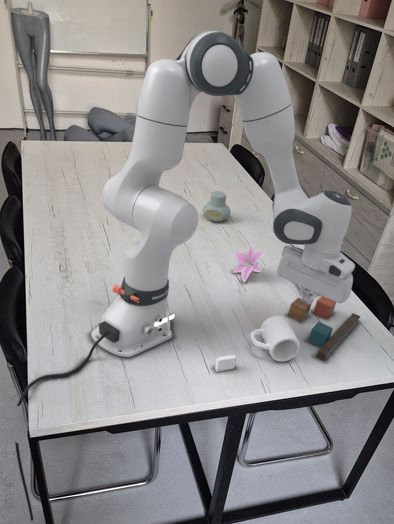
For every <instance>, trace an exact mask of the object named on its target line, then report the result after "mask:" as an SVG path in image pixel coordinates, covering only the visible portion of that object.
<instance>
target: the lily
mask: <svg viewBox="0 0 394 524" xmlns="http://www.w3.org/2000/svg"><path fill="white" fill-rule="evenodd" d="M264 254H266V249H259V250H254V245H253V243H251V244H250V245H249V247H248V248H247V250H246V252H244V251H234V253H233V255H234V258H235V260H236V262H237V263H238V265H237V266H236V267H235V268H234V270H233V274H236V273H240V275H241V280H242V282H243V284H244V283H246V282H247V280H248V279H249V277H250V274H251V273H252V272H255V273H257V272H258V273H262V271H263V270H262V268H261V266H260V264H259V260H261V258H262V257H263V256H264Z"/></svg>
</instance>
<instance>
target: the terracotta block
mask: <svg viewBox="0 0 394 524" xmlns="http://www.w3.org/2000/svg"><path fill="white" fill-rule="evenodd" d="M336 304H337V302H335V301H333V300H331V299H328V298H326V297H324V296H322V295H321V296H320V297H319V298H318V299H317V300H316V302H315V306H314V309H313V314H315V315H317V316H319V317H322V318H323V319H325V320H327V319H329V317H330V316H331V315H332V314H333V313H334V310H335V308H336Z"/></svg>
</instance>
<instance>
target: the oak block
mask: <svg viewBox="0 0 394 524" xmlns="http://www.w3.org/2000/svg"><path fill="white" fill-rule="evenodd" d="M311 307H312V304H311V305H309V304H307V303H305V302H302V301H301V297H297V298H296V299H295V300H293V301H292V302H291V303H290V307H289V310H288V313H287V316H288V317H290V318H292V319H294V320H296V321H298V322H300V323H302V322H303V321H304V320H305V319H306V318H307V317H308V316H309V313H310V310H311Z"/></svg>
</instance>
